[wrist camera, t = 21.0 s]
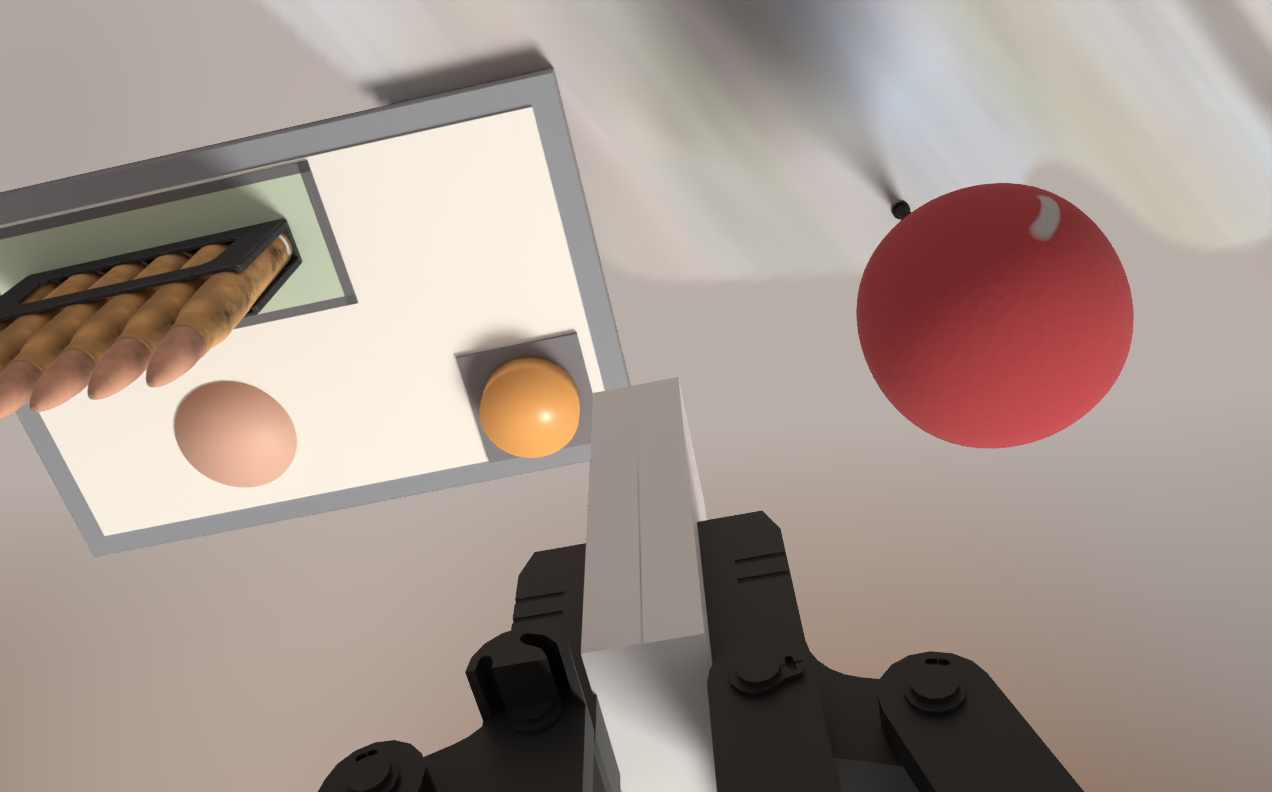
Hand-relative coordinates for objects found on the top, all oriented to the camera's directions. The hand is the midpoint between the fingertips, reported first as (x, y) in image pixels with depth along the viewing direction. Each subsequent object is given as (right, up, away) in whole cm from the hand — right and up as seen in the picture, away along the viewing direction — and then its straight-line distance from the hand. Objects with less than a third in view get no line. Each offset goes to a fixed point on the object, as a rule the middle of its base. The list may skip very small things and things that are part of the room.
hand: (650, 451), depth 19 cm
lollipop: (+10, +9, +23) cm, 27 cm away
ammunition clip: (-19, +6, +23) cm, 30 cm away
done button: (-5, +1, +25) cm, 26 cm away
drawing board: (-14, +4, +25) cm, 29 cm away
